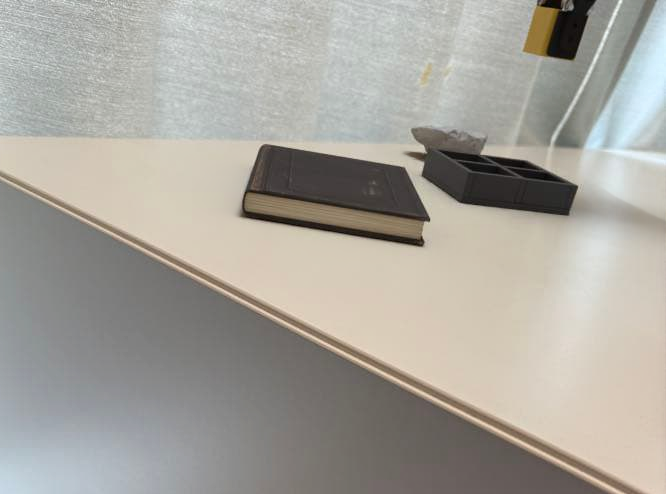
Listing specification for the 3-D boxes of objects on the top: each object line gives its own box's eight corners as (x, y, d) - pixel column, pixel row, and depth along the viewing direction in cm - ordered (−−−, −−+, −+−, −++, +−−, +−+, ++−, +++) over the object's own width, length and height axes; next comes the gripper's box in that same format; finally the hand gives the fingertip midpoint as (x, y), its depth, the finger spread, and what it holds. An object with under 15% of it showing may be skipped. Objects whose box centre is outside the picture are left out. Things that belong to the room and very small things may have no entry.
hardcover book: (400, 189, 86) (405, 167, 85) (423, 245, 68) (430, 218, 66) (256, 165, 86) (259, 142, 84) (240, 215, 67) (243, 187, 66)
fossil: (402, 125, 108) (471, 102, 108) (409, 175, 111) (476, 153, 111) (423, 130, 101) (497, 106, 100) (430, 183, 104) (502, 160, 104)
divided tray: (519, 187, 98) (527, 160, 97) (568, 215, 88) (578, 186, 86) (421, 174, 96) (427, 147, 94) (460, 202, 85) (469, 172, 83)
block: (556, 57, 87) (570, 12, 85) (574, 61, 84) (589, 15, 82) (522, 51, 87) (535, 6, 84) (539, 55, 83) (553, 8, 81)
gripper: (704, -169, 69) (619, 70, 80) (606, -151, 82) (544, 52, 93) (630, -188, 67) (553, 59, 78) (542, -166, 80) (487, 42, 91)
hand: (549, 53), depth 85 cm, fingers closed on block, 4 cm apart
